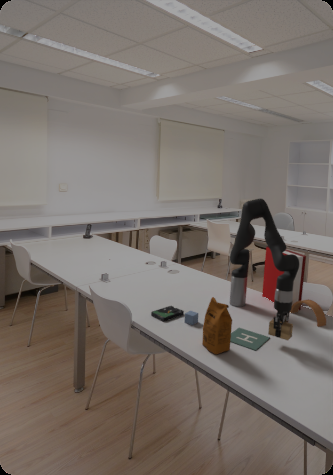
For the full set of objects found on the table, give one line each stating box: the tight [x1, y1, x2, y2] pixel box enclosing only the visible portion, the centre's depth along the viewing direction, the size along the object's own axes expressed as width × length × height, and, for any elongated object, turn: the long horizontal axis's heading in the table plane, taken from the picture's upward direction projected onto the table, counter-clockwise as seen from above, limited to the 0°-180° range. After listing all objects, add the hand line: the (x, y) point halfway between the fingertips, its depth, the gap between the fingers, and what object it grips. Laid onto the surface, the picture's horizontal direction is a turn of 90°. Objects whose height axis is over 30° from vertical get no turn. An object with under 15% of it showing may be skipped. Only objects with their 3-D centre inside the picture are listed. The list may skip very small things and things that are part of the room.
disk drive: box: [150, 305, 185, 322], centre depth 190 cm, size 10×3×15 cm
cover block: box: [268, 318, 294, 341], centre depth 159 cm, size 5×9×6 cm, turn 52°
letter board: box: [230, 327, 271, 352], centre depth 166 cm, size 16×16×1 cm
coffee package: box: [201, 296, 233, 355], centre depth 155 cm, size 10×12×22 cm
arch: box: [290, 299, 327, 328], centre depth 191 cm, size 6×20×10 cm, turn 25°
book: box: [261, 245, 307, 311], centre depth 212 cm, size 27×8×32 cm, turn 20°
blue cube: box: [184, 310, 199, 326], centre depth 182 cm, size 5×5×5 cm
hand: (280, 334), depth 160 cm, fingers closed on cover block, 5 cm apart
